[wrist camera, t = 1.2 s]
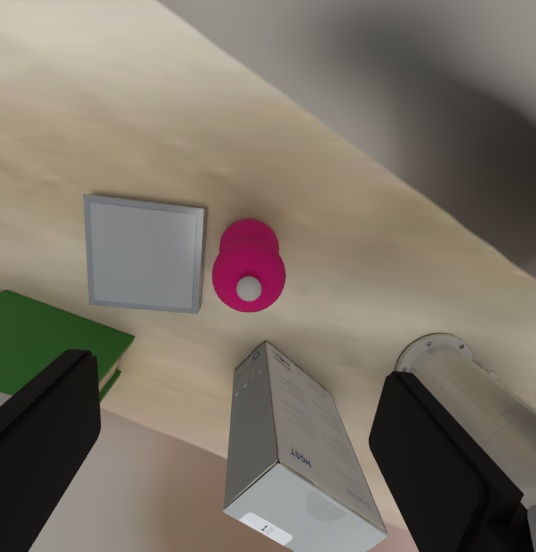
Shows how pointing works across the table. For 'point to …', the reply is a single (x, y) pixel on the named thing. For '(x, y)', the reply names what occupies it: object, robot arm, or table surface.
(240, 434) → the hard drive box
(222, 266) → the pepper mill
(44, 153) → the table surface
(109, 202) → the slate stand
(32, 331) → the hardback book
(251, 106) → the table surface
